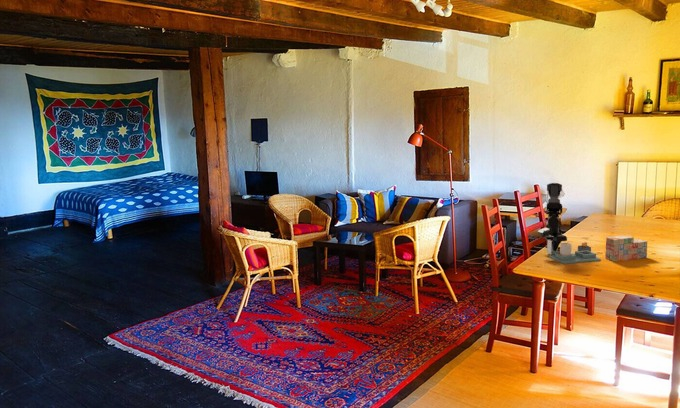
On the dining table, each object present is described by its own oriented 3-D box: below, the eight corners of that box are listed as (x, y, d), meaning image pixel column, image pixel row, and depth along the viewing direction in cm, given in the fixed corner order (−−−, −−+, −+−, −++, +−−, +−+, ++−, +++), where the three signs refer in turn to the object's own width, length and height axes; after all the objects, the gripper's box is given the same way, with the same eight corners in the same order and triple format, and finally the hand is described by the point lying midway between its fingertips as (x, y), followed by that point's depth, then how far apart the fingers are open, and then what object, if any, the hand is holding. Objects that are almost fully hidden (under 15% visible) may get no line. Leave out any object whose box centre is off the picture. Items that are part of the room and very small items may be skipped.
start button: (580, 247, 310) (580, 242, 310) (585, 246, 311) (585, 241, 310) (583, 248, 307) (583, 243, 307) (588, 247, 308) (588, 242, 307)
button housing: (577, 250, 311) (577, 245, 311) (585, 250, 312) (585, 245, 312) (582, 252, 307) (583, 247, 306) (590, 252, 307) (591, 247, 307)
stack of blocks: (638, 255, 299) (639, 233, 297) (646, 257, 293) (648, 235, 291) (605, 258, 294) (606, 236, 292) (613, 261, 288) (614, 239, 286)
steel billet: (547, 252, 308) (547, 239, 306) (553, 252, 308) (554, 238, 307) (551, 254, 304) (551, 241, 302) (557, 254, 304) (558, 240, 303)
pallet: (549, 257, 300) (549, 241, 299) (584, 254, 304) (585, 238, 303) (563, 263, 287) (564, 247, 285) (600, 260, 290) (601, 244, 289)
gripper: (531, 221, 311) (530, 247, 313) (549, 227, 293) (548, 255, 295) (549, 219, 313) (548, 245, 315) (568, 226, 294) (567, 253, 297)
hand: (552, 250), depth 306 cm, fingers closed on steel billet, 4 cm apart
